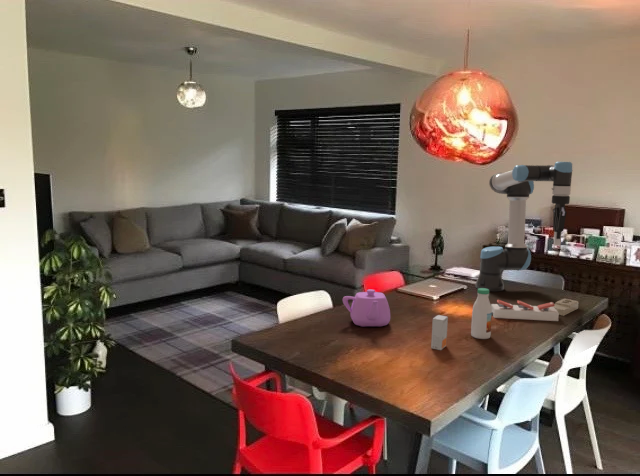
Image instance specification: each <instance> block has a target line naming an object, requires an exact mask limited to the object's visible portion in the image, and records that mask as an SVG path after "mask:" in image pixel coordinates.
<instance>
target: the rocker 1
mask: <svg viewBox="0 0 640 476" xmlns="http://www.w3.org/2000/svg"><path fill="white" fill-rule="evenodd" d="M496 302H497V304H502V305H504V306H507V307H510V308H513V305H514V304H511V303H509V302H506V301H503V300H501V299H497V300H496Z"/></svg>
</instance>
